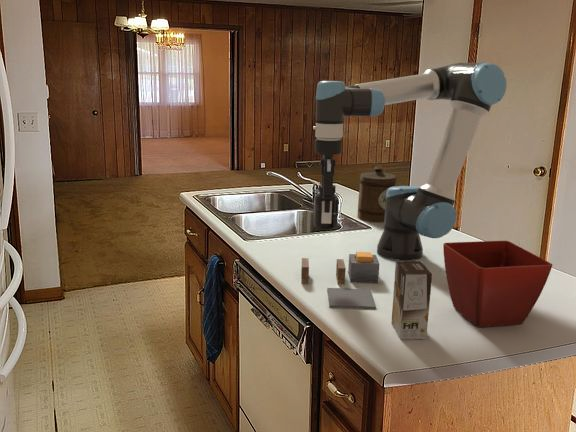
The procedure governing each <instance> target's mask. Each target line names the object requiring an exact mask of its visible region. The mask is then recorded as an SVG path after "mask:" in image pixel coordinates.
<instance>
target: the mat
mask: <svg viewBox="0 0 576 432" xmlns="http://www.w3.org/2000/svg"><path fill="white" fill-rule="evenodd" d="M326 291H327V298H328V305H329V306H328V307H329V308H333V309H335V308H338V309H360V310H361V309H365V310H366V309H369V310H371V309H372V310H377V305H376V302H375V299H374V296H373V292H372V290H371V289H370V288H351V287H350V288H347V287H327V290H326Z"/></svg>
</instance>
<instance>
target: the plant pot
mask: <svg viewBox="0 0 576 432" xmlns="http://www.w3.org/2000/svg"><path fill="white" fill-rule="evenodd" d="M442 245H443V248H442V249H443V261H444V270H445V277H446V281H447V287H448V290H449V296H450V299H451V303H452V306H453V308H454V309H455V310H457V311H458V312H459V313H460V314H461V315H462V316H463V317H464V318H466V319H467V320H468V321H469V322H470V323H471V324H473V325H474V326H475V327H478V328H487V327H488V328H490V327H503V326H504V327H505V326H514V325H515V326H517V325H523V324H524V322H525V321H526V319H527V318H528V317H529V315H530V313H531V311H532V310H533V309H534V307H535V305H536V304H537V302H538V300H539V298H540V296H541V294H542V292H543V290H544V288H545V286H546V283H547V281H548V278H549V276H550V273H551V271H552V267H553V263H551V262H549V261H547V260H546V259H543V258H541V257H540V256H538V255H536V254H534V253H532V252H530V251H528V250H527V249H524V248H522V247H521V246H519V245H517V244H515V243H513V242H511V241H509V240H486V241H485V240H484V241H483V240H482V241H457V242H456V241H455V242H452V241H451V242H444V243H443V244H442Z"/></svg>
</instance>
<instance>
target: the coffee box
mask: <svg viewBox="0 0 576 432" xmlns="http://www.w3.org/2000/svg"><path fill="white" fill-rule="evenodd" d="M394 267H395V270H394V282H393V296H392V297H393V298H392V311H391V312H392V313H391V325H392V327H393V329H394V330H395V332H396V334H397V335H398V337H399V339H400V340H426V339H427V335H428V323H429V315H430V313H429V312H430V303H431V290H432V281H433V280H432V279H433V273H432V272H431V271H430V270H429V268H428V267H427V266H425V264H424V263H423V262H422V261H420V260H408V261H403V260H395V266H394Z"/></svg>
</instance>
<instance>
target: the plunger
mask: <svg viewBox="0 0 576 432" xmlns="http://www.w3.org/2000/svg"><path fill="white" fill-rule="evenodd" d="M355 254H356V261H359V262H372V261H373V256H372V255H373V254H372V252H371V251H356V252H355Z"/></svg>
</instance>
